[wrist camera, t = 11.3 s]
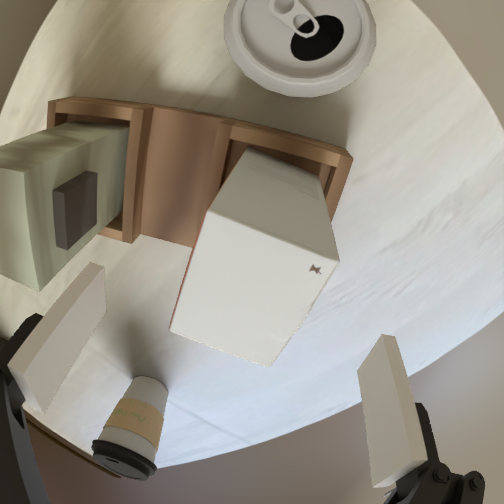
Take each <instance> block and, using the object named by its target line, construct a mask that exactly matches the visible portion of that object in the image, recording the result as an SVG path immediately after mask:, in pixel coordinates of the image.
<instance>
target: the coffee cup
mask: <svg viewBox="0 0 504 504" xmlns="http://www.w3.org/2000/svg"><path fill="white" fill-rule="evenodd" d="M167 398H168V390H167V389H166V387H165V386H164V385H163V384H162V383H161V382H159V381H158V380H156V379H153V378H150V377H146V376H138V377H135V378H134V380H133V381H132V383H131V384H130V386H129V388H128V389H127V391H126V392H125V394H124V396H123V397H122V399H120V400H119V402H118V404H117V405H116V407H115V409H114V410H113V412H112V414H111V415H110V417H109V419H108V420H107V422H106V424H105V425H104V427H103V431H102V433H101V434H100V436H99V438H98V440H93V442H92V443H93V445H92V450H93V451H94V453H93V458H94V459H95V460H96V461H97V462H98V463H99V464H101V465H102V466H103V467H105V468H107V469H109V470H111V471H112V472H114V473H117V474H119V475H122V476H124V477H127V478H130V479H134V480H140V481H145V480H147V479H148V477H149V476H151V475H154V473H155V471H156V470H157V467H156V465H155V464H154V460H155V455H156V453H157V451H158V446H159V441H160V436H161V431H162V426H163V421H164V418H163V416H164V412H165V407H166V402H167Z"/></svg>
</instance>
